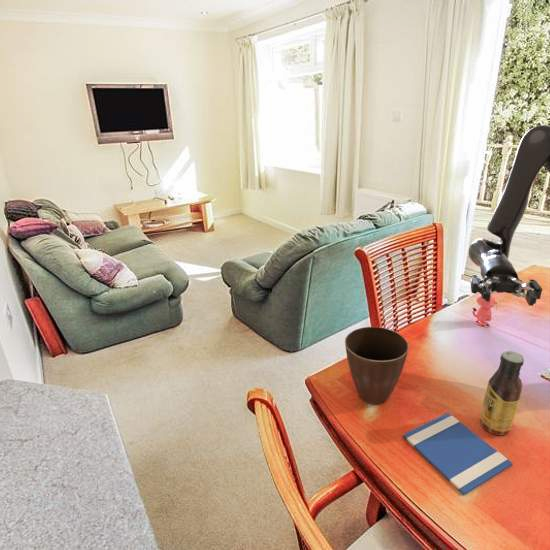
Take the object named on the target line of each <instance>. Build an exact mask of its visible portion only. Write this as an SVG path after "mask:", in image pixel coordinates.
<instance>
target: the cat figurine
mask: <svg viewBox="0 0 550 550" xmlns="http://www.w3.org/2000/svg"><path fill="white" fill-rule="evenodd" d="M476 303H477V305H479V308H478V309H477V308H475V307H472V310H471V314H472V315H473V317H474V318H476V321H475V322H476V323H477V325H478V326H480V327H482V326H481V325H484V326H483V327H484V328H486V327H485V326H489V327H490V324H489V322H491V320H492V314H493V313H492V309H493V308H494V307H495V309H496V310H497V308H498V305H497V300H496V297H495V296H494V295H493V293H492V294H491V295H490V301H489V302H488V301H485V299H483V298H482V296H481V295H480V293H479V294H478V295H477V296H476ZM477 321H480V322H477ZM484 321H486V322H484ZM478 323H479V324H480V325H479V324H478Z"/></svg>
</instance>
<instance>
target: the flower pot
mask: <svg viewBox="0 0 550 550" xmlns="http://www.w3.org/2000/svg"><path fill="white" fill-rule="evenodd" d="M344 346H345V352H346V358H347V363H348V367H349V371H350V376H351V378H352V381H353V384H354V386H355V389H356V391H357V394H358V396H359V398H360V399H362V401H364V402H365V403H368V404H370V405H381V404H384V403H386V402H387V401H388V399H389V398H390V396H391V394H392V393H393V391H394V390H395V388H396V385H397V384H398V381H399V380H400V377H401V374H402V372H403V369H404V366H405V363H406V361H407V357H408V353H409V349H410V346H409V342H408V340H407V339H406V338H405V337H404V336H403V335H402V334H400V333H399V332H397V331H394V330H392V329H389V328H386V327H380V326H365V327H360V328H357V329H353V330H352V331H351V332H349V333H348V334H347V335H346V337H345V339H344Z"/></svg>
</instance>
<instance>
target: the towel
mask: <svg viewBox="0 0 550 550" xmlns="http://www.w3.org/2000/svg"><path fill="white" fill-rule="evenodd" d="M402 437H403V438H404V439H405V441H407V442H408V444H410V445H411V446H412V447H413V448H414V450H416V451H417V452H418V453H419V454H420V455H421V456H422V457H423V458H424V459H425V460H426V461H427V462H429V463H430V464H431V466H433V467H434V468H435V469H436V470H437V471H438V472H439V473H440V474H441V475H442V476H443V477H444V478H445V479H446V480H447V481H448V482H449V483H450V484H451V485H452V486H453V487H454V488H455V489H456V490H457V491H458V492H460V494H462V495H463V496H465V495H467V494H469V493H470V492H472V491H473V490H475V489H477V488H478V487H479V486H481V485H483V484H485V483H486V482H488V481H490V480H491V479H493V478H494V477H496V476H498V475H499V474H501V473H502V472H504V471H505V470H508V468H511V467H512V466H513V462H512V461H511V460H510V459H508V458H507V457H506V456H505V455H503V454H502V453H501V452H500V451H498V450H497V449H495V448H494V447H493V446H491V445H490V444H489V443H488V442H487V441H485V440H484V439H482V438H481V437H480V436H479V435H477V434H476V433H475V432H473V431H472V430H471V429H469V427H467V426H466V425H464V424H463V423H462V422H460V420H458V419H457V418H456V417H455V416H453V415H452V414H451V413H449V412H447V413H445V414H443V415H441V416H438V417H437V418H434V419H433V420H431V421H428V422H427V423H424V424H422V425H420V426H419V427H416V428H414V429H411V430H410V431H408V432H406V433H404V434H403V435H402Z"/></svg>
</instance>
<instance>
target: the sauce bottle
mask: <svg viewBox="0 0 550 550" xmlns="http://www.w3.org/2000/svg"><path fill="white" fill-rule="evenodd" d="M499 359H500V362H499V366H498V368H497V370H496V371H495V372H494V374H492V376H491V377H490V378H489V379H488V382H487V386H486V391H485V394H484V398H483V402H482V403H483V404H482V407H481V412H480V421H479V422H480V425H481V427H483V428H484V430H485V431H486V432H488V433H490V434H493V435H495V436H496V435H497V436H505V435H508V434H509V433H510V431H511V430H512V426H513V424H514V420H515V417H516V414H517V410H518V406H519V404H520V403H519V402H520V399H521V394H522V390H523V382H522V379H521V378H520V374H521V373H520V372H521V369H522V367H523V366H524V363H525V358H524V356H523V355H522V354H521V353H518V352H517V351H515V350H514V351H513V350H505V351H503V352H501V354H500V358H499Z"/></svg>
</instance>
